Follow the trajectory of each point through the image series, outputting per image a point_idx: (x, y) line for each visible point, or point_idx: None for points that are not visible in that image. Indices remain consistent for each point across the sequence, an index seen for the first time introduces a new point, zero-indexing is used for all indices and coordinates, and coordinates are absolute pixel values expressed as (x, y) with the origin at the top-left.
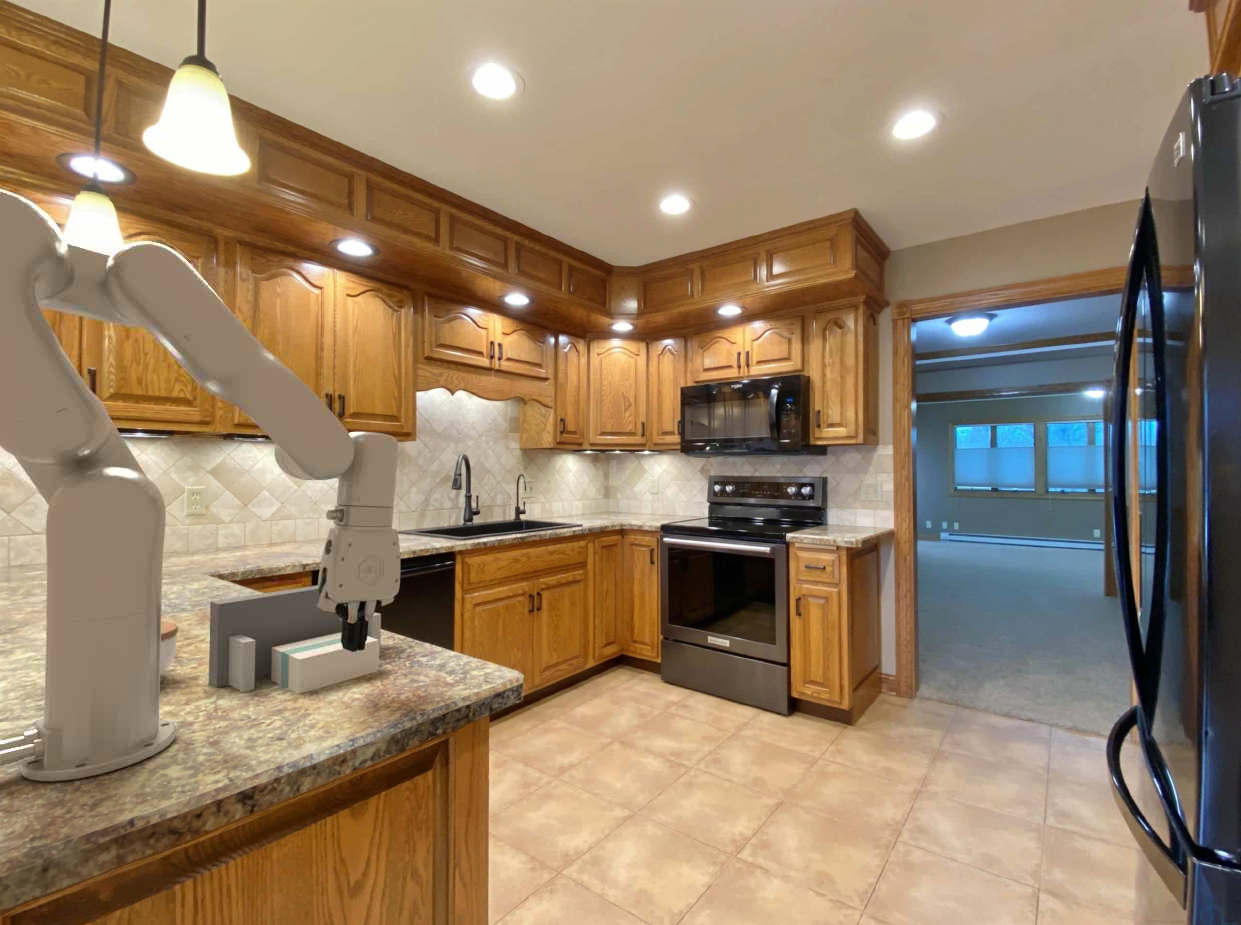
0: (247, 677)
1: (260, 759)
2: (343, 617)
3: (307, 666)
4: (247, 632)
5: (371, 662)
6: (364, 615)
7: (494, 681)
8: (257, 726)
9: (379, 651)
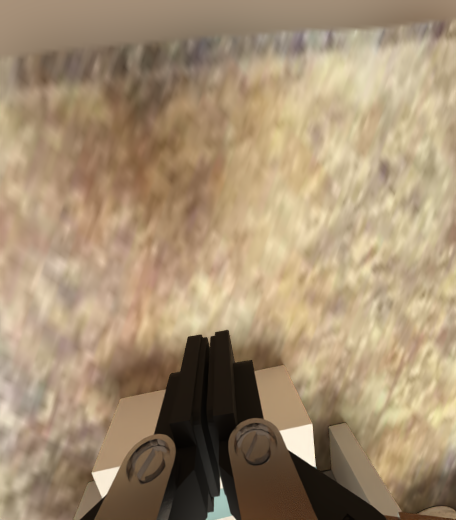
0: (352, 446)
1: (442, 98)
2: (309, 464)
3: (284, 408)
4: None
5: (131, 414)
6: (175, 473)
7: None
8: (387, 257)
9: (86, 491)
